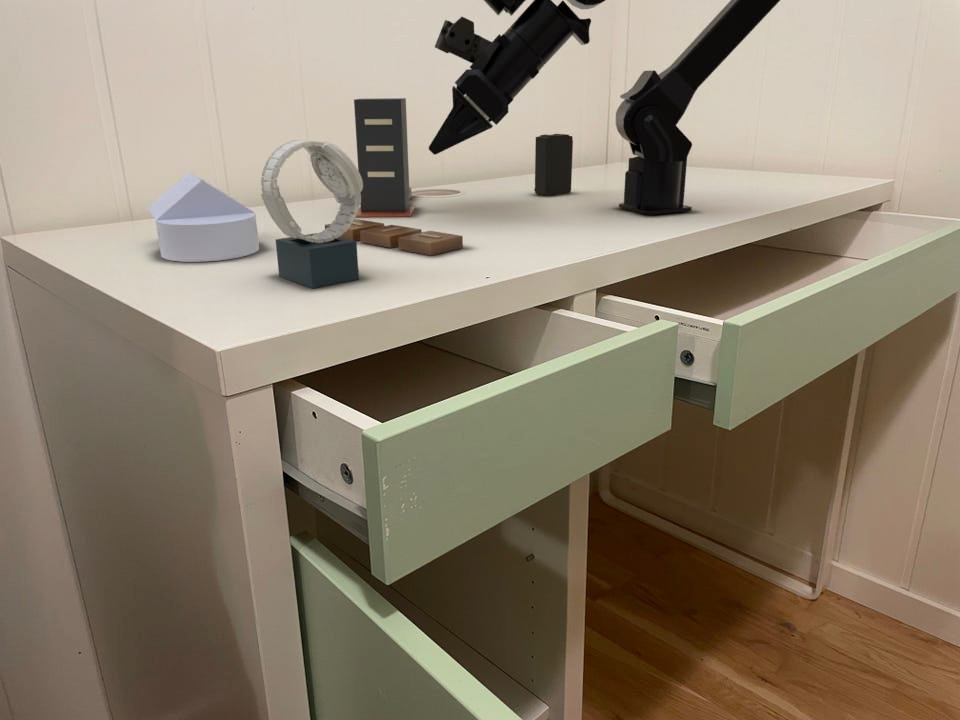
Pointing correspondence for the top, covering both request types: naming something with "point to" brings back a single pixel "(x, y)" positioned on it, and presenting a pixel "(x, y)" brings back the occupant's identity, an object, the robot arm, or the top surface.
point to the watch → (323, 252)
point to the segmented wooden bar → (402, 237)
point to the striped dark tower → (382, 154)
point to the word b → (386, 214)
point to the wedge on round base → (203, 223)
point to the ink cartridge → (553, 164)
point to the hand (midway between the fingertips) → (433, 148)
